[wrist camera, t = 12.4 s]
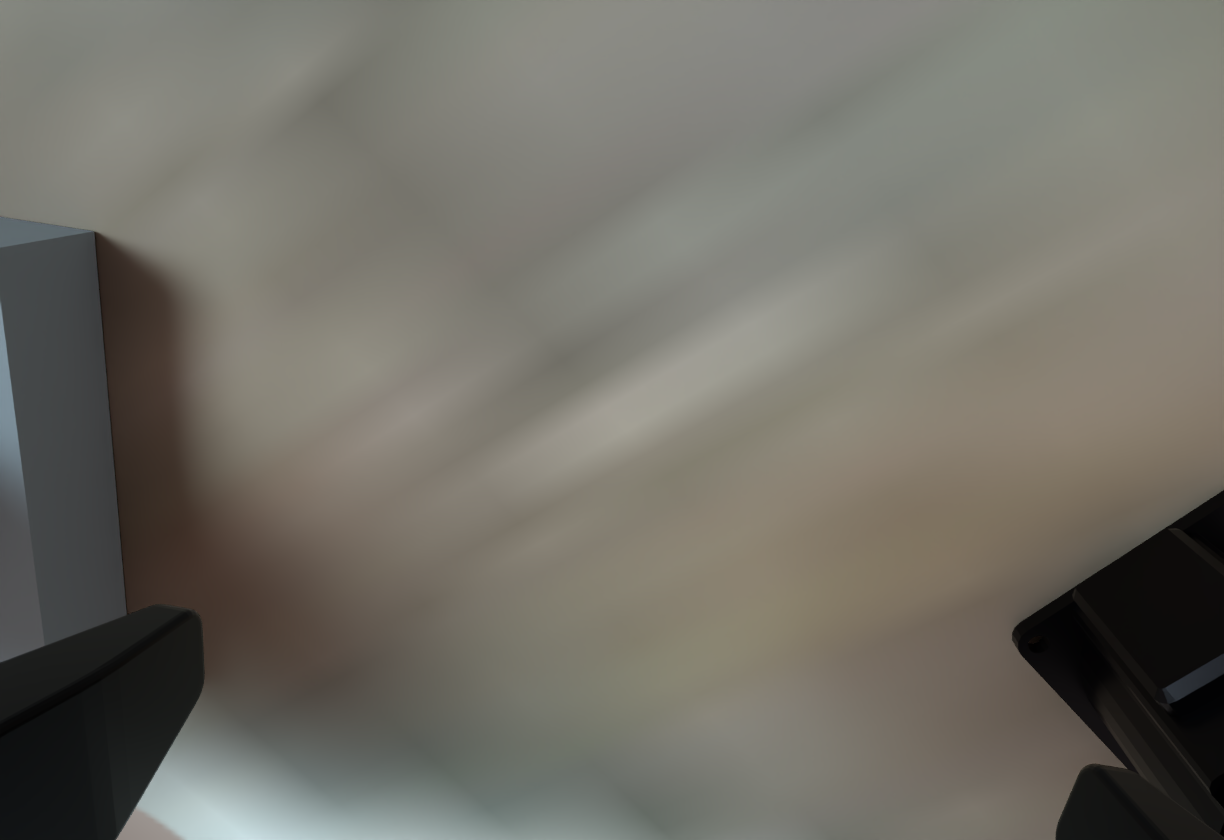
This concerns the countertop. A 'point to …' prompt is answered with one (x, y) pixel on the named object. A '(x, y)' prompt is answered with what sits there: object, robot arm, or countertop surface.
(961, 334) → the countertop surface
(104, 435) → the plinth
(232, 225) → the countertop surface
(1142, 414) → the countertop surface
